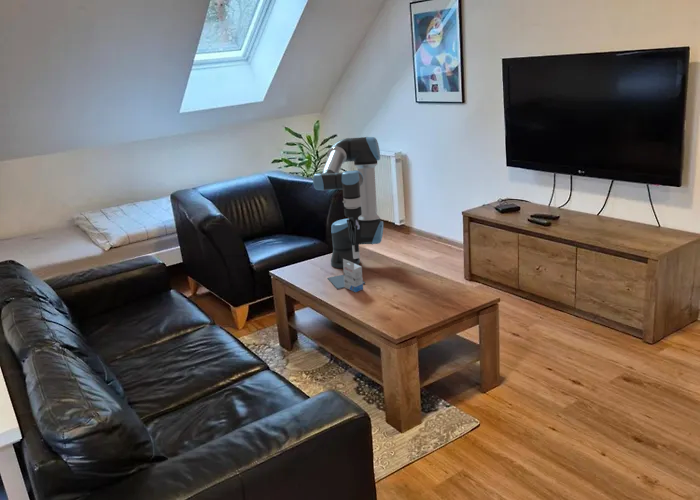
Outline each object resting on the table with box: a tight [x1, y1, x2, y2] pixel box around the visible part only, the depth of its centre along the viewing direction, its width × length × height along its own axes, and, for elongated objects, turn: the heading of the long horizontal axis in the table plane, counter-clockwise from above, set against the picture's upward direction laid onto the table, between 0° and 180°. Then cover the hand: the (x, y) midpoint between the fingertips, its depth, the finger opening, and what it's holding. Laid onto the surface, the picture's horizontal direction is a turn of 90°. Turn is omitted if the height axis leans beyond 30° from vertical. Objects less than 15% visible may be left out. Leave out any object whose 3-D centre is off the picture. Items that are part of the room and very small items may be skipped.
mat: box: [326, 274, 366, 290], centre depth 308 cm, size 16×14×1 cm
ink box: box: [342, 259, 364, 293], centre depth 295 cm, size 8×5×15 cm, turn 39°
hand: (356, 258), depth 284 cm, fingers closed
